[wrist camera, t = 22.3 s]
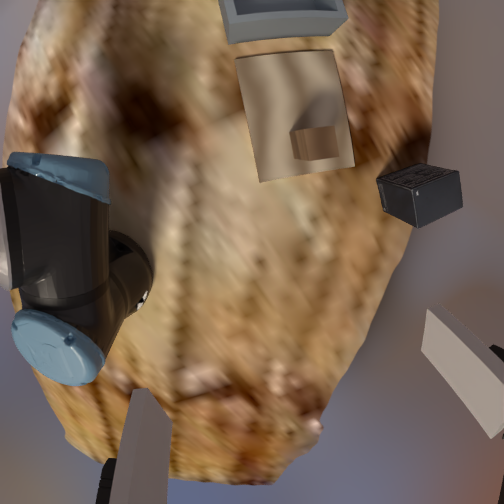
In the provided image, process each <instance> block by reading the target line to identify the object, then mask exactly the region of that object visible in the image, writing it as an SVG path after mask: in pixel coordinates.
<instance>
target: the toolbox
mask: <svg viewBox="0 0 504 504" xmlns="http://www.w3.org/2000/svg"><path fill="white" fill-rule="evenodd" d="M218 2H219V6H220V10H221V15H222V19H223V23H224V27H225V32H226V36H227V41H228V45H229V44H235V43H242V42H249V41H256V40H265V39H275V38H288V37H308V36H330V35H331V34H332V33H333V32H334V31H335V30H336V29H338V28H339V27H340V26H341V25H342V24H343V23H344V22H345V21H346V20H347V19H348V15H347V12H346V10H345V7H344V4H343V1H342V0H218Z"/></svg>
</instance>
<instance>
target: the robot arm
mask: <svg viewBox="0 0 504 504" xmlns="http://www.w3.org/2000/svg"><path fill="white" fill-rule="evenodd" d="M7 165H8V167H7V168H1V169H0V286H1V287H2V288H4V289H5V290H7V291H9V290H12V289H15V288H19V293H20V298H21V302H22V310H20V311H18V312H17V313H16V314H15V318H14V320H13V322H12V326H11V332H12V337H13V340H14V342H15V344H16V346H17V348H18V350H19V351H20V353H21V354H22V355H23V357H24V358H25V359H26V360H27V361H28V362H29V363H30V364H31V365H32V366H33V367H34V368H35V369H37V370H38V371H39V372H40V373H42V374H43V375H45V376H46V377H48V378H50V379H52V380H54V381H56V382H59V383H62V384H65V385H70V386H82V385H86V384H87V383H89V382H92V381H93V380H94V379H95V378H96V376H97V374H98V373H99V371H100V370H101V368H102V367H103V366H104V364H105V359H106V357H107V355H108V353H109V351H110V348H111V346H112V344H113V342H114V340H115V338H116V335H117V333H118V331H119V329H120V327H121V325H122V323H123V321H124V319H126V318H127V317H129V316H130V315H132V314H133V313H135V312H136V311H137V310H139V309H140V308H141V307H142V305H143V304H144V303H145V301H146V299H147V297H148V295H149V293H150V290H151V287H152V270H151V266H150V263H149V261H148V258H147V256H146V255H145V253H144V252H143V250H142V249H141V248H140V246H139V245H138V244H137V243H136V242H134V241H133V240H132V239H131V238H129V237H128V236H126V235H124V234H122V233H119V232H116V231H111V230H108V222H109V205H111V200H110V199H109V180H110V174H109V170H108V167H107V166H106V165H105V164H104V163H103V162H102V161H100V160H97V159H90V158H81V157H72V156H62V155H52V154H40V153H26V152H12V153H11V154H10V156H9V159H8V160H7ZM421 351H422V352H423V353H424V355H425V356H426V357H427V358H428V359H429V360H430V362H431V363H432V364H433V365H434V366H435V368H436V369H437V370H438V371H439V372H440V374H441V375H442V376H443V377H444V379H445V380H446V381H447V382H448V383H449V385H450V386H451V387H452V388H453V390H454V391H455V392H456V394H457V395H458V396H459V397H460V399H461V400H462V401H463V402H464V403H465V405H466V406H467V408H468V409H469V410H470V412H471V413H472V414H473V416H474V417H475V418H476V420H477V421H478V422H479V424H480V425H481V426H482V428H483V429H484V430H485V432H486V433H487V434H488V436H489V437H490V439H492V438H493V437H494V436H495V435H496V434H498V433H499V432H500V431H501V430H502V429H503V428H504V349H502V348H500V347H498V346H496V345H492V346H491V347H489V348H488V347H487V346H486V345H485V344H484V343H483V342H482V341H481V340H480V339H479V338H478V337H477V336H476V335H474V334H473V333H472V332H471V331H470V330H469V329H468V328H467V327H466V326H465V325H463V324H462V323H461V322H460V321H459V320H458V319H457V318H456V317H455V316H453V315H452V314H451V313H450V312H449V311H448V310H446V309H445V308H444V307H443V306H442V305H441V304H439V303H438V304H436V305H434V306H431V307H429V308H427V315H426V323H425V330H424V336H423V343H422V349H421ZM172 423H173V422H172V421H171V420H170V418H169V417H168V416H167V414H166V413H165V412H164V410H163V409H162V407H161V406H160V405H159V403H158V402H157V401H156V399H155V398H154V396H153V395H152V393H151V392H150V391H149V389H148V388H142V389H134V390H133V392H132V396H131V400H130V404H129V408H128V412H127V416H126V420H125V425H124V429H123V433H122V438H121V442H120V447H119V452H118V457H117V458H108V460H107V461H106V463H105V464H104V466H103V469H102V473H101V480H100V483H99V488H98V493H97V499H96V504H167V488H168V471H169V457H170V445H171V433H172ZM502 439H504V434H503V437H502ZM498 504H504V476H503V482H502V487H501V492H500V496H499V500H498Z"/></svg>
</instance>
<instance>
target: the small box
mask: <svg viewBox="0 0 504 504" xmlns="http://www.w3.org/2000/svg"><path fill="white" fill-rule="evenodd" d="M376 181H377V185H378V189H379V193H380V198H381V204H382V207H383V211H384V212H386V213H388V214H390V215H392V216H394V217H396V218H398V219H400V220H402V221H404V222H406V223H408V224H410V225H412V226H414V227H416V228H417V229H419V228H421V227H423V226H425V225H427V224H429V223H431V222H434V221H436V220H438V219H440V218H442V217H444V216H446V215H448V214H450V213H452V212H454V211H456V210H458V209H460V208H462V207H463V203H462V202H463V201H462V192H461V183H460V176H459V171H455V170H449V169H444V168H440V167H435V166H430V165H426V164H422V163H419V164H416V165H413V166H411V167H407V168H405V169H402V170H399V171H396V172H393V173H390V174H388V175H385V176H382V177H379V178H377V179H376Z"/></svg>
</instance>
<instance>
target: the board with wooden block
mask: <svg viewBox="0 0 504 504" xmlns="http://www.w3.org/2000/svg"><path fill="white" fill-rule="evenodd" d="M234 62H235V67H236V71H237V76H238V80H239V85H240V90H241V94H242V99H243V104H244V108H245V113H246V118H247V123H248V128H249V132H250V137H251V142H252V147H253V152H254V157H255V162H256V167H257V172H258V177H259V182H260V183H261V182H266V181H271V180H276V179H281V178H287V177H292V176H298V175H304V174H310V173H316V172H322V171H328V170H335V169H341V168H348V167H355V164H354V156H353V150H352V143H351V137H350V131H349V125H348V119H347V114H346V109H345V104H344V99H343V94H342V89H341V85H340V80H339V76H338V72H337V67H336V63H335V59H334V55H333V52H332V51H310V52H293V53H281V54H271V55H262V56H255V57H248V58H241V59H235V60H234Z"/></svg>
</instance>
